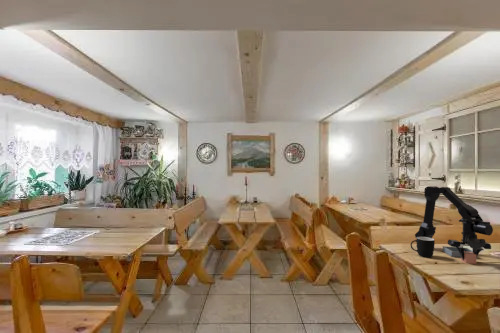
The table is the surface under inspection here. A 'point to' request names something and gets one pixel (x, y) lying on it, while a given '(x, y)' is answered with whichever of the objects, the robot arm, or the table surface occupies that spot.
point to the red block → (469, 257)
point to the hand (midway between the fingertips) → (468, 260)
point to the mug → (424, 246)
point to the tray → (454, 251)
